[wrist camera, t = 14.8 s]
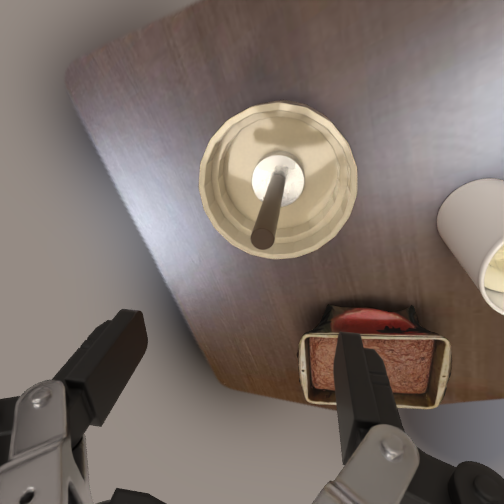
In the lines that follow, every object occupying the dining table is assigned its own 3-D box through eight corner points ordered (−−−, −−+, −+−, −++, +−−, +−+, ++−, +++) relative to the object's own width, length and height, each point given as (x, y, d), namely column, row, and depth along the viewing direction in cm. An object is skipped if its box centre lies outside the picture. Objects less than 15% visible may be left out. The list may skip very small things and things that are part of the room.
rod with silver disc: (244, 174, 35) (203, 235, 21) (280, 139, 33) (263, 180, 19) (277, 209, 37) (261, 289, 22) (315, 177, 34) (323, 243, 20)
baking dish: (308, 282, 44) (296, 334, 36) (452, 301, 39) (475, 367, 31) (305, 351, 51) (294, 406, 43) (425, 374, 46) (438, 442, 38)
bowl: (188, 171, 37) (169, 185, 31) (284, 64, 30) (280, 60, 25) (275, 257, 40) (271, 283, 35) (377, 178, 34) (391, 195, 29)
